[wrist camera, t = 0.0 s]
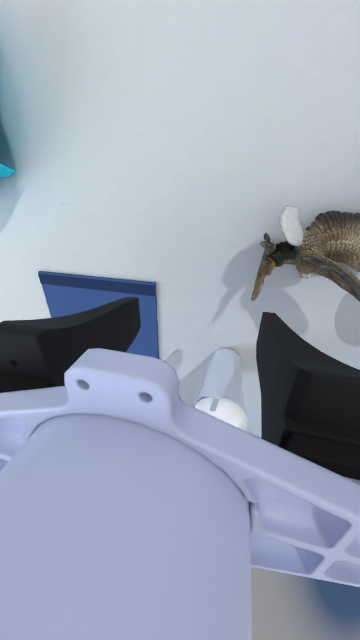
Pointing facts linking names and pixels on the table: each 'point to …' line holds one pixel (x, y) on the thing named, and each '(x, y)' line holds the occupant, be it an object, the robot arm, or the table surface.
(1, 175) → the toy shark
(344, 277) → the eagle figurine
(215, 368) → the milkshake
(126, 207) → the table surface
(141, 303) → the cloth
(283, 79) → the table surface
